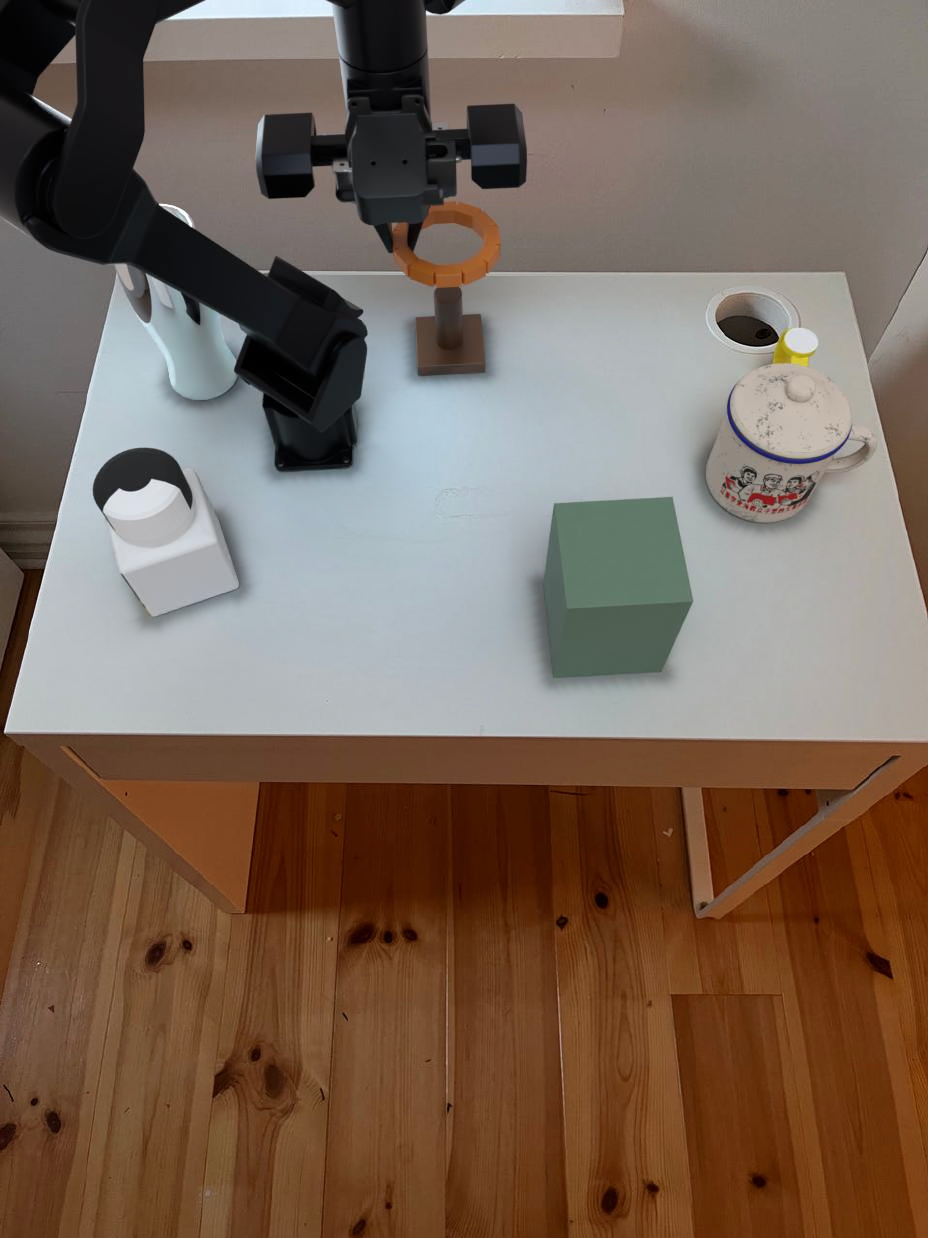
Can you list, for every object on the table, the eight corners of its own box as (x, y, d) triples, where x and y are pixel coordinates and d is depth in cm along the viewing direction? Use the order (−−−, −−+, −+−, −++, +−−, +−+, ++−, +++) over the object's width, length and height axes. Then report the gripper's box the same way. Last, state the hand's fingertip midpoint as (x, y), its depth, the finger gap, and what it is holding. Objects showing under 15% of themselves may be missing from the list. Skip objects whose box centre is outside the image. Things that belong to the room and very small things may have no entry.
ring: (394, 289, 69) (393, 277, 68) (392, 216, 73) (391, 203, 72) (503, 284, 69) (503, 272, 68) (495, 211, 73) (495, 198, 72)
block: (553, 678, 66) (566, 608, 56) (543, 584, 70) (553, 502, 60) (661, 672, 66) (693, 601, 56) (645, 578, 70) (672, 496, 60)
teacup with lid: (701, 522, 72) (739, 428, 62) (701, 432, 76) (736, 331, 66) (854, 535, 71) (918, 443, 61) (844, 444, 75) (903, 343, 65)
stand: (417, 376, 79) (413, 321, 74) (415, 326, 82) (411, 269, 76) (485, 372, 79) (486, 317, 74) (480, 323, 82) (481, 265, 76)
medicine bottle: (131, 546, 72) (71, 453, 61) (218, 518, 73) (173, 421, 62) (151, 619, 69) (91, 535, 58) (241, 589, 70) (198, 500, 59)
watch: (761, 361, 80) (781, 310, 74) (792, 363, 80) (815, 312, 74) (765, 414, 77) (786, 365, 72) (798, 416, 77) (822, 367, 71)
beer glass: (251, 347, 81) (206, 204, 68) (234, 407, 78) (184, 268, 65) (176, 343, 82) (117, 198, 68) (156, 402, 78) (91, 263, 65)
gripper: (227, 133, 53) (278, 330, 67) (541, 119, 53) (527, 318, 67) (238, 24, 58) (284, 228, 72) (525, 11, 58) (515, 217, 72)
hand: (400, 249), depth 71 cm, fingers closed on ring, 1 cm apart
